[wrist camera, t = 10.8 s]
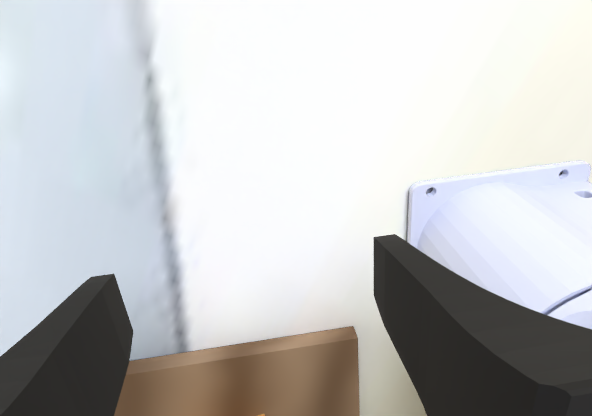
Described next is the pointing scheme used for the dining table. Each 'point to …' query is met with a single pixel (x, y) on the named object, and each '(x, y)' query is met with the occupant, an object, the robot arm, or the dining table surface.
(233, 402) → the post board
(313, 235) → the dining table surface
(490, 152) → the dining table surface
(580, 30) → the dining table surface
